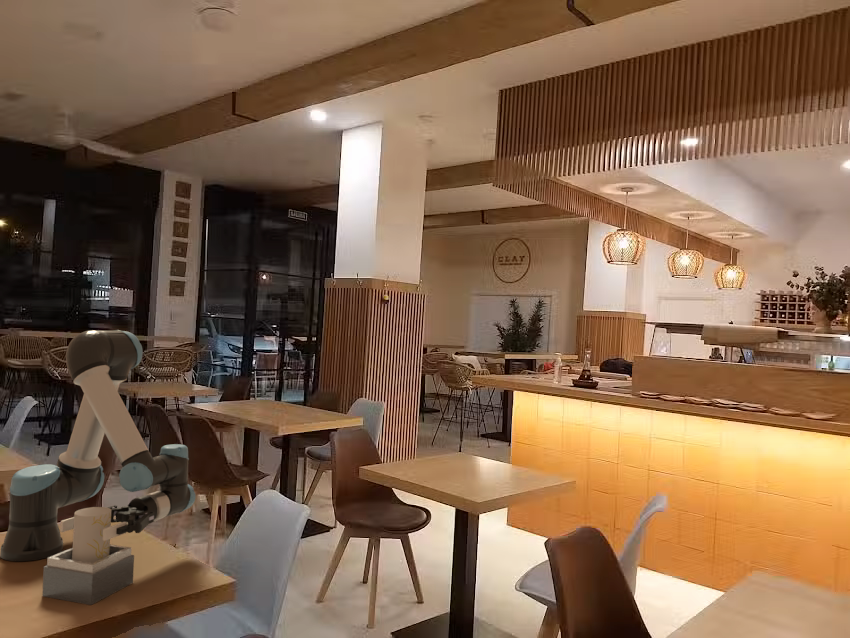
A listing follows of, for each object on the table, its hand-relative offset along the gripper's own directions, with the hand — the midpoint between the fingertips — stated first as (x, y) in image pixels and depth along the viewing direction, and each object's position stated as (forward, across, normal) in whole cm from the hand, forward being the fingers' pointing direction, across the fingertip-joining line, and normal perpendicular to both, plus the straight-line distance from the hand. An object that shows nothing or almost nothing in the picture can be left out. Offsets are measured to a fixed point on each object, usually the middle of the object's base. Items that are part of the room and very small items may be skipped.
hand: (82, 530), depth 158 cm
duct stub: (-3, 0, -15) cm, 15 cm away
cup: (-3, 0, -8) cm, 9 cm away
